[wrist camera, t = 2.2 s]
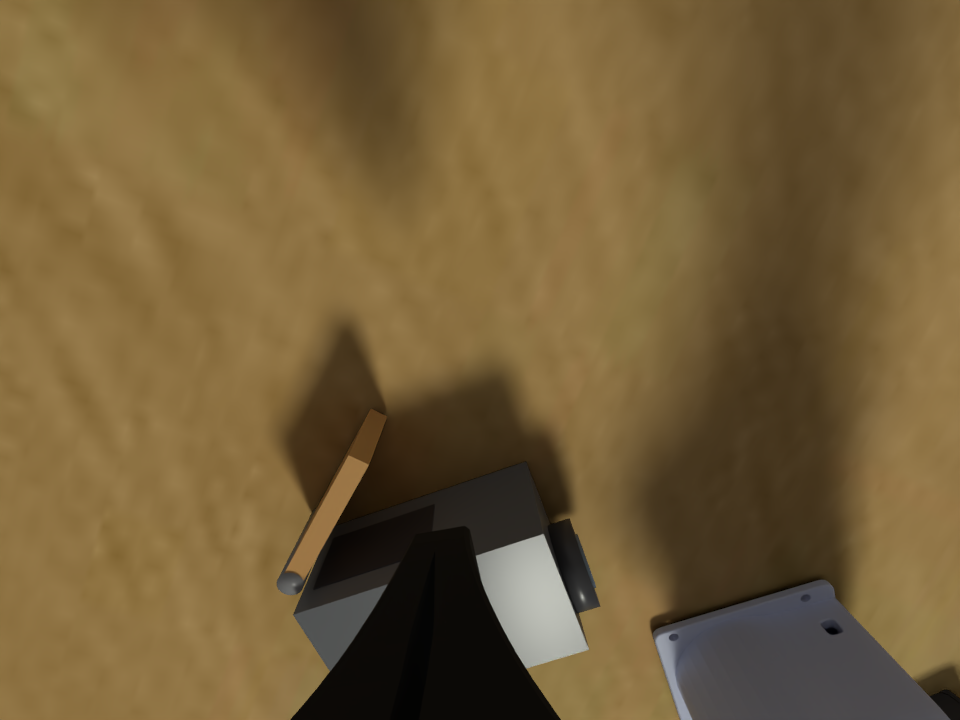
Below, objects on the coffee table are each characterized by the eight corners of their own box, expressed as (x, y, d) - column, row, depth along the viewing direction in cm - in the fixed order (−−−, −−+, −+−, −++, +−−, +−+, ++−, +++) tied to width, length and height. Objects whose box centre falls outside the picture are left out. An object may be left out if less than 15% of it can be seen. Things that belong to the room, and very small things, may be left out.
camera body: (548, 453, 21) (576, 534, 16) (584, 552, 23) (620, 655, 18) (329, 526, 22) (286, 627, 17) (381, 616, 24) (357, 733, 19)
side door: (368, 406, 20) (345, 455, 16) (389, 416, 20) (371, 467, 16) (308, 519, 22) (272, 589, 18) (327, 528, 22) (297, 598, 18)
